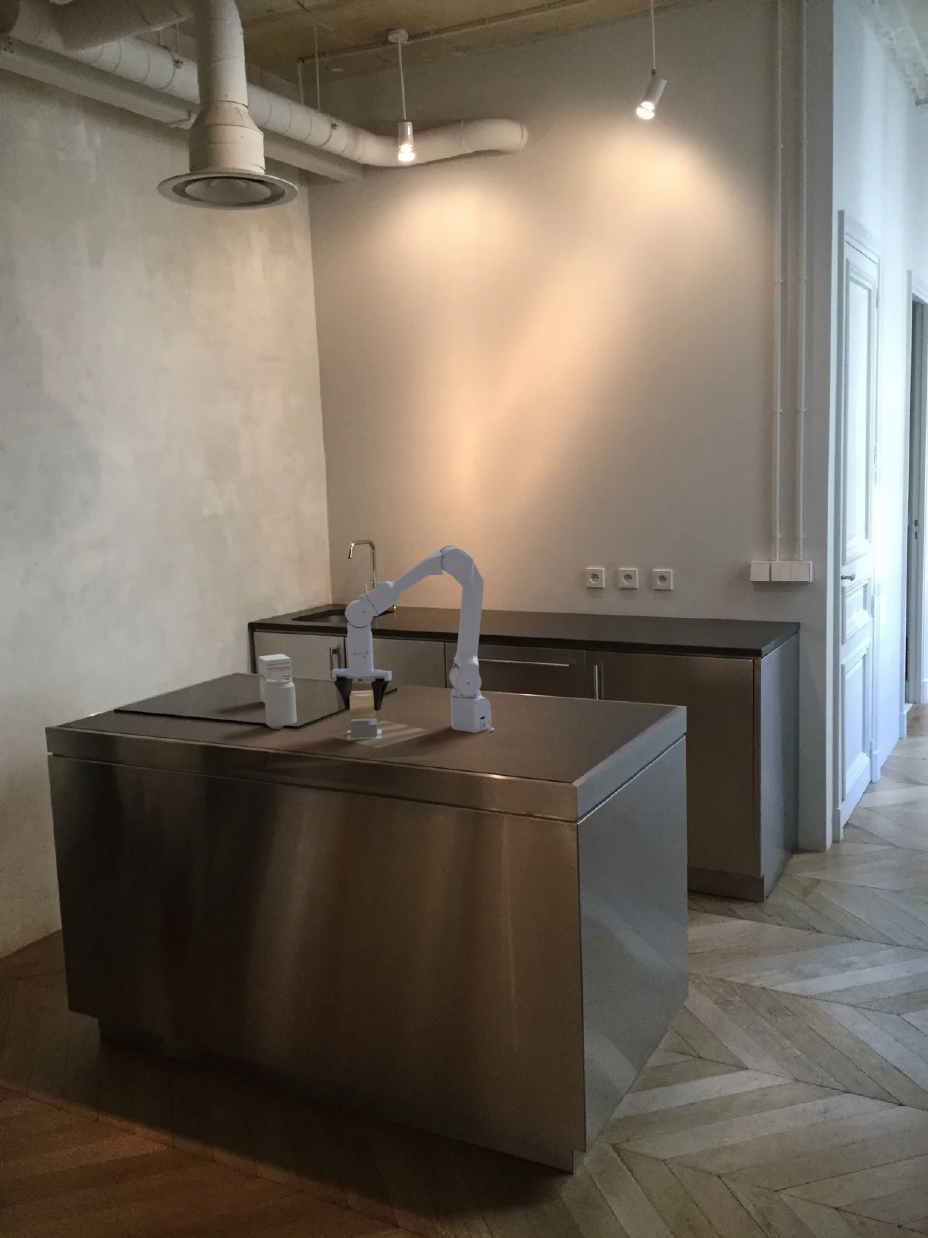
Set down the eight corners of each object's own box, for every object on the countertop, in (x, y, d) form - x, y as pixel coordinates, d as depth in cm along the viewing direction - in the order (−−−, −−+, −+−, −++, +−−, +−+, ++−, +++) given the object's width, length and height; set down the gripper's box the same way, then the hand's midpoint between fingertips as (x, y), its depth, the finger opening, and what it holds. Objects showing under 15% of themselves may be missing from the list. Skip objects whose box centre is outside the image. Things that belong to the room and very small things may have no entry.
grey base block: (377, 737, 256) (376, 724, 255) (351, 738, 255) (350, 725, 255) (377, 730, 262) (376, 718, 261) (352, 731, 261) (351, 719, 261)
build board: (435, 735, 259) (435, 731, 259) (377, 752, 246) (377, 748, 246) (385, 724, 271) (384, 720, 271) (327, 739, 259) (327, 735, 259)
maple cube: (374, 716, 255) (373, 695, 254) (350, 717, 255) (349, 696, 254) (375, 711, 260) (374, 690, 260) (352, 711, 260) (351, 691, 260)
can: (260, 728, 272) (257, 680, 270) (278, 721, 278) (276, 674, 276) (284, 731, 268) (282, 682, 266) (303, 723, 275) (300, 676, 273)
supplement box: (260, 701, 302) (257, 656, 300) (286, 698, 305) (283, 653, 303) (267, 706, 295) (264, 660, 293) (294, 703, 298) (291, 657, 296)
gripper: (395, 650, 257) (398, 706, 259) (339, 648, 262) (342, 703, 264) (383, 655, 250) (386, 713, 252) (326, 653, 255) (329, 710, 257)
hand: (363, 709), depth 257 cm, fingers closed on maple cube, 7 cm apart
